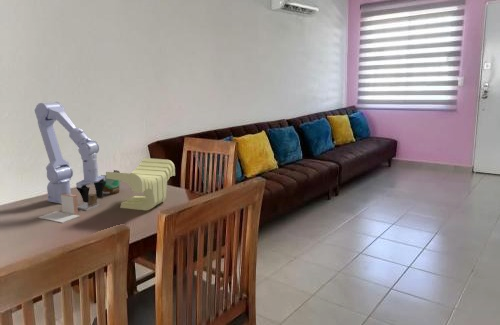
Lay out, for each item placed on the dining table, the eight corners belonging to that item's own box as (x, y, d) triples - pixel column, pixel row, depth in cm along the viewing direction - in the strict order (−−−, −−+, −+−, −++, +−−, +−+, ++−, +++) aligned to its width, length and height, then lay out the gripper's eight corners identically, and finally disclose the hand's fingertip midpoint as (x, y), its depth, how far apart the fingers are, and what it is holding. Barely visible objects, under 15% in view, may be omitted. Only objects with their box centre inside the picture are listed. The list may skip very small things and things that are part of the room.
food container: (113, 196, 185) (112, 176, 183) (101, 196, 186) (100, 175, 184) (126, 189, 197) (125, 170, 195) (115, 189, 198) (114, 169, 196)
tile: (62, 212, 163) (60, 194, 161) (65, 211, 164) (64, 193, 162) (74, 215, 160) (73, 196, 158) (78, 214, 161) (76, 195, 160)
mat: (38, 217, 156) (38, 217, 156) (56, 211, 163) (56, 211, 163) (62, 223, 151) (62, 222, 151) (79, 216, 158) (79, 215, 158)
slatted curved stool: (143, 217, 158) (141, 174, 154) (108, 213, 162) (105, 171, 158) (175, 196, 186) (174, 160, 183) (145, 194, 190) (143, 158, 187)
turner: (89, 204, 175) (88, 193, 174) (99, 205, 173) (98, 194, 172) (75, 209, 168) (74, 198, 167) (85, 211, 166) (84, 199, 165)
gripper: (84, 173, 162) (86, 205, 164) (109, 167, 175) (111, 196, 177) (71, 172, 164) (74, 203, 167) (97, 165, 177) (99, 194, 180)
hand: (92, 199), depth 172 cm, fingers open, 7 cm apart
